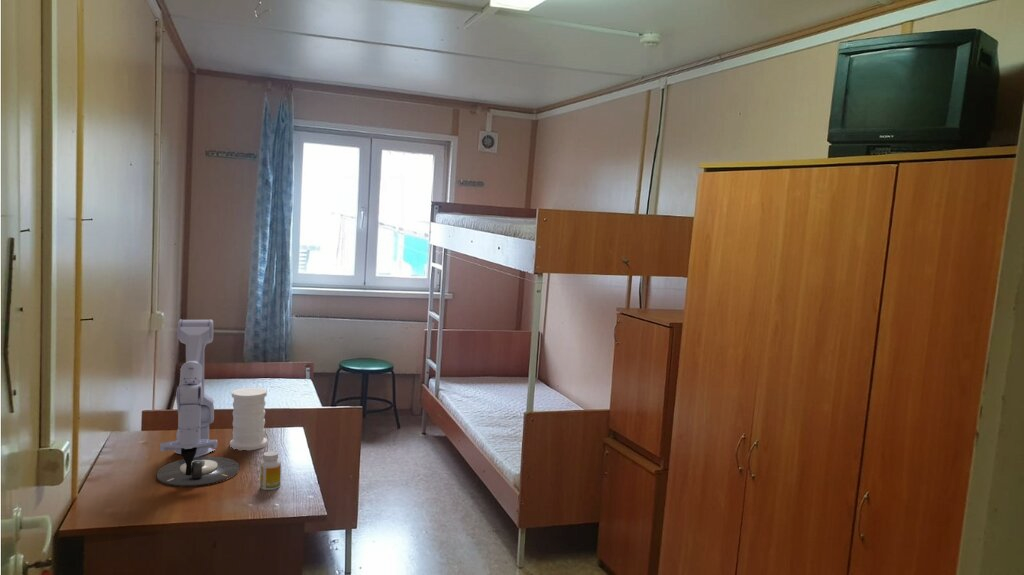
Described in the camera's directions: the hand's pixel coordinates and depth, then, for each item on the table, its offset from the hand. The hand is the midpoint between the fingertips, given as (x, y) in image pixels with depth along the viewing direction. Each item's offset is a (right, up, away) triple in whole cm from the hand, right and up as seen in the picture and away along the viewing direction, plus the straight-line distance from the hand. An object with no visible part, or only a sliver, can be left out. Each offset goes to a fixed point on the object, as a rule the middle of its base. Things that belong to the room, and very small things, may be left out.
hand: (189, 473), depth 198 cm
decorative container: (+4, 0, +34) cm, 34 cm away
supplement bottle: (+23, -4, 0) cm, 23 cm away
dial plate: (-1, -2, +8) cm, 8 cm away
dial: (0, -1, +6) cm, 6 cm away
